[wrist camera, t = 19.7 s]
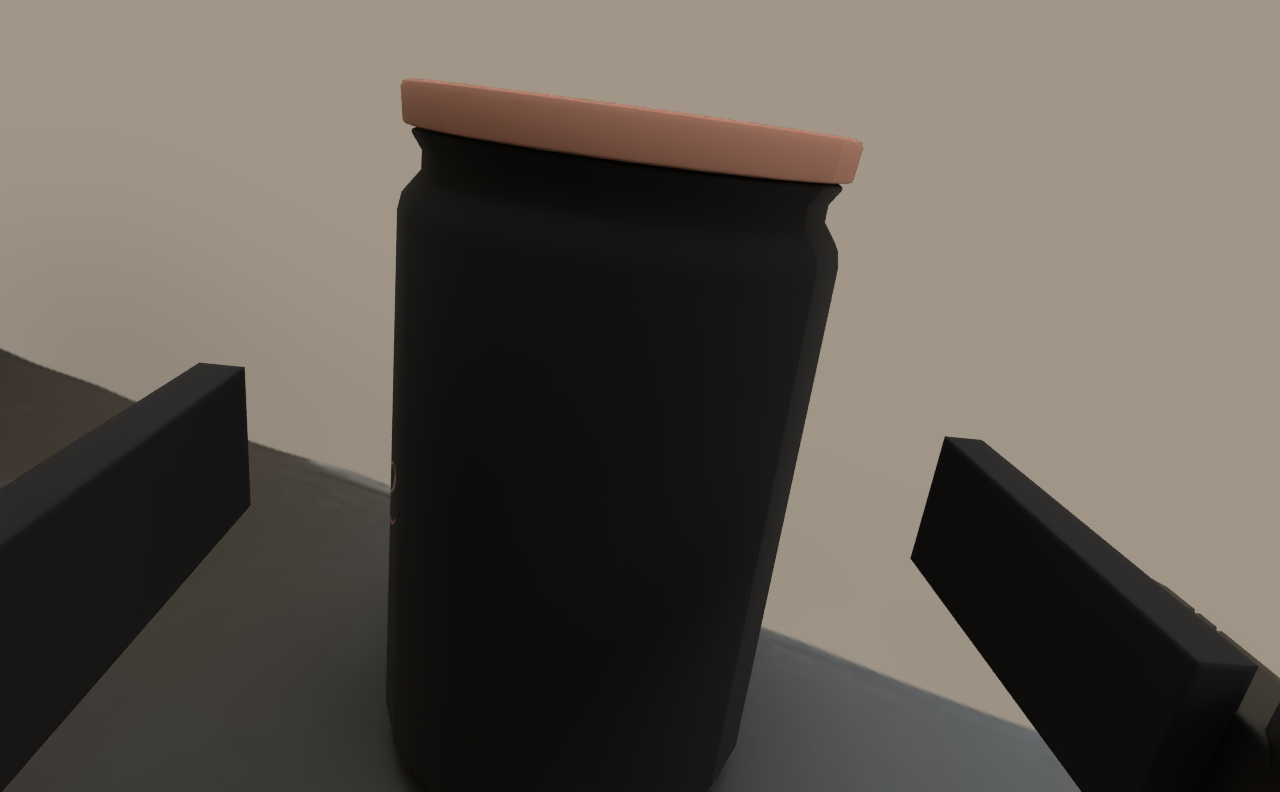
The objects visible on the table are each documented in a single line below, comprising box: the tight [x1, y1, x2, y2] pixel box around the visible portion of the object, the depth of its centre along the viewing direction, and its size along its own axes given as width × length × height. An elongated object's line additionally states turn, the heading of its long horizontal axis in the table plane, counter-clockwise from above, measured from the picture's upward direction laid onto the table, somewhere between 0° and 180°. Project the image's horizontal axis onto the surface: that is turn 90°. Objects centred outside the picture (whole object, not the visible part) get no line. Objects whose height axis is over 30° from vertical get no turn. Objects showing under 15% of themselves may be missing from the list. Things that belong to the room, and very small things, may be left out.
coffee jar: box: [386, 79, 863, 792], centre depth 21 cm, size 11×11×18 cm
